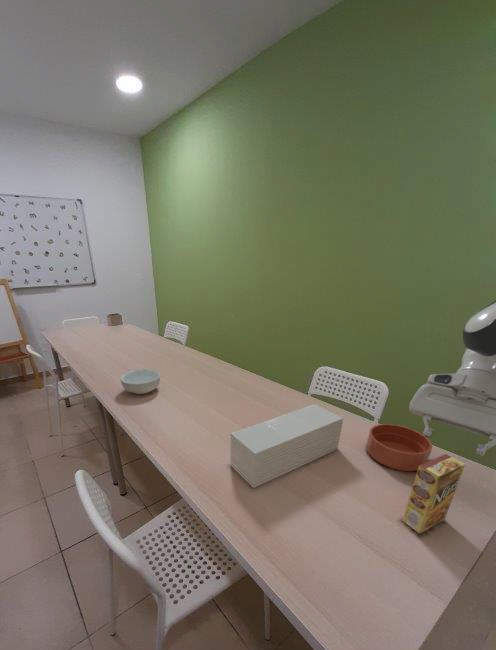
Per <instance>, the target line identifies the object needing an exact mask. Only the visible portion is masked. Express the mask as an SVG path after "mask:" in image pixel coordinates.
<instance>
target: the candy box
mask: <svg viewBox="0 0 496 650" xmlns="http://www.w3.org/2000/svg"><path fill="white" fill-rule="evenodd" d="M465 467H466V463H464V462H462V461H461V460H459V459H457V458H455V457H453V456H450V455H449V454H447V453H444V454H442V455H439V456H438V457H435V458H433V459H432V460H431V459H430V460H428V462H427V463H424V464H422V465H419V467H418V470H416V474H415V477H414V481H413V484H412V488H411V491H410V494H409V498H408V501H407V504H406V507H405V511H404V513H403V517H402V522H403V523H405V524H406V525H407V526H408V527H410V528H411V529H413V530H414V531H415V532H417V533H418V534H422V533H424V532H425V531H427V530H429V529H431V528H432V527H434V526H436V525H438V524H440V523H441V522H443V521H444V520H446V517H447V514H448V512H449V509H450V507H451V504H452V501H453V498H454V495H455V494H456V490H457V488H458V486H459V483H460V480H461V477H462V474H463V472H464V469H465Z"/></svg>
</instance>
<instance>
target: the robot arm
mask: <svg viewBox="0 0 496 650" xmlns="http://www.w3.org/2000/svg"><path fill="white" fill-rule="evenodd" d="M462 341H463V345H464V347H465V351H464V353H463V355H462V357H461V365H460V367H459V368H457V370H456V372H455V373H433V374H429V376H428V378H427V381H426V383H424V384H423V385H421V386H419V388H418V389H417V391H416V392H415V393H414V395H413V397H412V399H411V401H410V402H409V405H408V408H409V412H410V413H411V415H413V416H418V417H420V418H422V424H423V427H424V429H423V432H422V434H423V436H425V437H427V438H428V439H431V437H432V435H433V432H434V429H433V428H431V427H429V424H431V422H432V421H433V422H437V423H440V424H444V425H447V426H449V427H454V428H457V429H460V430H463V431H466V432H471V433H473V434H477V435H479V436H483V437H486V438H488V439H487V443H485V444H484V445H483V444H481V443H478V444H477V447H476V449H475V451H474V454H476V455H479V456H481V457H484V456H485V454H486V452H487V450H489V449H490V448H493V447H494V446H496V300H494V301H493V302H491V303H489V304H488V305H486V306H485V307H483V308H481V309H480V310H478V311H477V312H476V313H474V314H473V315H472V316H470V317H469V318H468V319H467V320H466V322H465V323H464V325H463V329H462Z"/></svg>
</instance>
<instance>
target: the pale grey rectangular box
mask: <svg viewBox="0 0 496 650" xmlns="http://www.w3.org/2000/svg"><path fill="white" fill-rule="evenodd" d="M343 421H344V418H343V417H342V416H339V415H337V414H335V413H333V412H331V411H330V410H327V409H325V408H324V407H321V406H319V405H317V404H315V403H313V404H310V405H308V406H305V407H302V408H299V409H296V410H293V411H290V412H288V413H284V414H282V415H279V416H276V417H272V418H270V419H268V420H265V421H261V422H259V423H256V424H253V425H250V426H247V427H244V428H242V429H239V430H236V431H233V432H230V449H229V450H230V453H229V454H230V457H229V458H230V460H229V461H230V462H229V463H230V465H229V466H231V468H232V469H234V470H235V471H236V472H237V474H239V476H241V477H242V479H244V480H245V481H246V483H248V484H249V485H250V486H251V487H252V489H255V488H257V487H260V486H261V485H264V484H266V483H267V482H270V481H272V480H274V479H277V478H278V477H280V476H283V475H285V474H287V473H289V472H292V471H294V470H296V469H298V468H300V467H302V466H304V465H306V464H309V463H311V462H313V461H315V460H317V459H319V458H322V457H324V456H326V455H328V454H330V453H332V452H334V451H337V450H339V445H340V439H341V434H342V433H341V432H342V429H343Z"/></svg>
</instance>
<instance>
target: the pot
mask: <svg viewBox="0 0 496 650" xmlns="http://www.w3.org/2000/svg"><path fill="white" fill-rule="evenodd" d="M365 449H366V451H367V453H368V455H369V456H371V458H372V459H373V460H375V461H376V462H377V463H379V464H381V465H382V466H385V467H388V468H390V469H393V470H397V471H403V472H415V471H418V467H419V465H422V464H424V463H427V462H429V459H430V457H431V453H432V449H433V444H432V441H431V440H430V438H429V437H425V436H423V433H422V432H419V431H417V430H415V429H413V428H410V427H407V426H404V425H399V424H393V423H379V424H376V425H373V426H372V427H371V428H370V429H369V432H368V437H367V441H366V447H365Z"/></svg>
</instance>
